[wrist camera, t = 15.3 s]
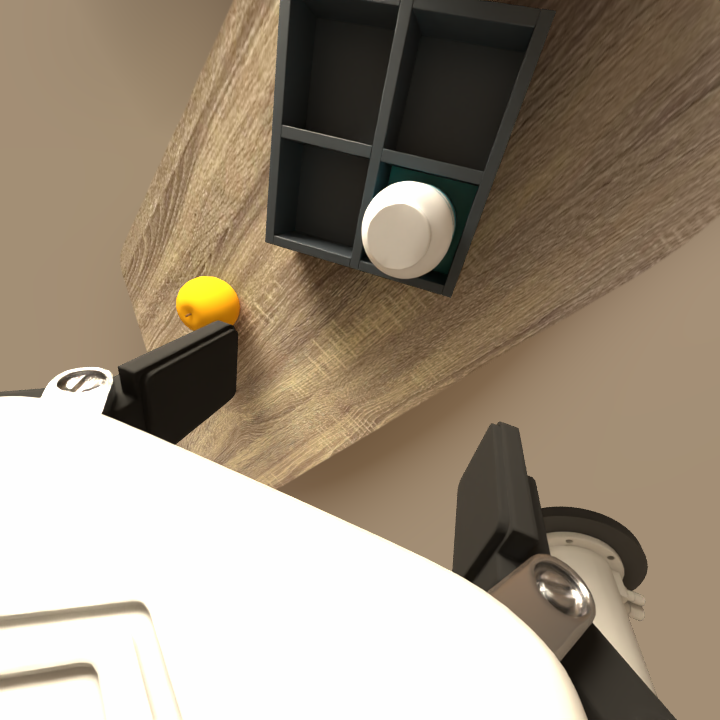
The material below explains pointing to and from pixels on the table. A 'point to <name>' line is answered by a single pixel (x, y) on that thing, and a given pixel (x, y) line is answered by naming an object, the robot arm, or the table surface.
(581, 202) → the table surface
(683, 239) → the table surface
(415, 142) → the divided storage tray
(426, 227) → the pill bottle
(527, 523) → the robot arm
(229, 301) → the apple
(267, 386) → the table surface
